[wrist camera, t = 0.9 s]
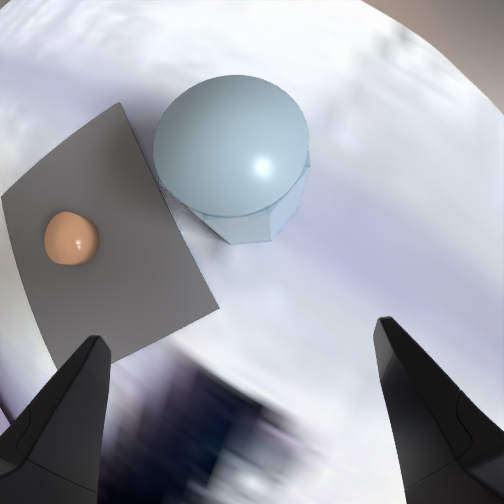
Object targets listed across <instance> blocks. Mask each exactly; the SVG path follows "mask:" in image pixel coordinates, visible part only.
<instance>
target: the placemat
mask: <svg viewBox="0 0 504 504" xmlns="http://www.w3.org/2000/svg"><path fill="white" fill-rule="evenodd" d="M1 199H2V205H3V210H4V215H5V220H6V224H7V229H8V233H9V237H10V241H11V245H12V249H13V253H14V256H15V260H16V263H17V267H18V270H19V274H20V277H21V280H22V283H23V286H24V289H25V292H26V295H27V298H28V301H29V304H30V306H31V309H32V312H33V314H34V317H35V320H36V322H37V325H38V327H39V330H40V332H41V335H42V337H43V339H44V342H45V344H46V346H47V349H48V351H49V353H50V355H51V357H52V360H53V362H54V364H55V366H56V368H57V370H59V368H60V367H61V366H62V365H63V364H64V363H65V362H66V361H67V359H68V358H69V357H70V356H71V355H72V354H73V353H74V352H75V351H76V349H77V348H78V347H79V346H80V345H81V344H82V343H83V342H84V341H85V340H86V339H87V337H89V336H90V335H100V336H101V337H102V338H103V339H104V341H105V342H106V344H107V345H108V346H109V348H110V350H111V364H112V363H114V362H116V361H118V360H120V359H122V358H124V357H126V356H128V355H130V354H132V353H134V352H136V351H138V350H140V349H142V348H144V347H146V346H148V345H150V344H152V343H154V342H156V341H158V340H160V339H162V338H164V337H166V336H167V335H169V334H171V333H173V332H175V331H177V330H179V329H181V328H183V327H185V326H187V325H189V324H191V323H193V322H194V321H196V320H198V319H200V318H202V317H204V316H206V315H208V314H210V313H212V312H213V311H215V310H217V309H219V306H218V304H217V302H216V300H215V298H214V297H213V295H212V293H211V291H210V289H209V287H208V285H207V283H206V282H205V280H204V278H203V276H202V274H201V272H200V270H199V268H198V266H197V264H196V262H195V260H194V259H193V257H192V255H191V253H190V251H189V249H188V247H187V245H186V243H185V241H184V239H183V237H182V235H181V233H180V231H179V229H178V227H177V225H176V223H175V221H174V219H173V217H172V215H171V213H170V211H169V209H168V206H167V204H166V202H165V200H164V198H163V196H162V194H161V192H160V190H159V188H158V186H157V184H156V181H155V179H154V177H153V175H152V173H151V171H150V169H149V166H148V164H147V162H146V160H145V158H144V156H143V153H142V151H141V149H140V147H139V144H138V142H137V140H136V138H135V136H134V133H133V131H132V129H131V126H130V124H129V122H128V120H127V117H126V115H125V113H124V110H123V108H122V106H121V104H120V103H119V102H118V103H117V104H115V105H114V106H112V107H111V108H109V109H108V110H106V111H105V112H103V113H102V114H100V115H99V116H97V117H96V118H95V119H93V120H92V121H90V122H89V123H88V124H86V125H85V126H83V127H82V128H81V129H79V130H78V131H77V132H75V133H74V134H73V135H71V136H70V137H69V138H67V139H66V140H65V141H64V142H62V143H61V144H60V145H58V146H57V147H56V148H55V149H53V150H52V151H51V152H50V153H49V154H47V155H46V156H45V157H44V158H43V159H41V160H40V161H39V162H38V163H37V164H36V165H35V166H33V167H32V168H31V169H30V170H29V171H28V172H27V173H26V174H24V175H23V176H22V177H21V178H20V179H19V180H18V181H17V182H16V183H15V184H14V185H13V186H12V187H10V188H9V189H8V190H7V191H6V192H5V193H4V194H3V195H2V196H1ZM61 212H71V213H74V214H76V215H79V216H82V217H85V218H88V219H90V220H91V221H92V222H93V223H94V224H95V225H96V227H97V229H98V232H99V247H98V250H97V253H96V255H95V256H94V258H93V259H92V260H91V261H90V262H89V263H87V264H85V265H82V266H75V265H65V264H58V263H55V262H54V261H52V260H51V259H50V257H49V256H48V254H47V252H46V249H45V232H46V229H47V226H48V224H49V223H50V221H51V220H52V219H53V217H55V216H56V215H57V214H59V213H61Z"/></svg>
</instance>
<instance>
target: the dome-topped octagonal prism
mask: <svg viewBox="0 0 504 504" xmlns="http://www.w3.org/2000/svg"><path fill="white" fill-rule="evenodd" d="M308 145H309V135H308V128H307V124H306V120H305V118H304V115H303V113H302V111H301V110H300V108H299V106H298V105H297V103H296V102H295V101H294V100H293V99H292V98H291V97H290V96H289V95H288V94H287V93H286V92H285V91H284V90H282V89H281V88H279V87H278V86H276V85H274V84H272V83H270V82H268V81H265V80H263V79H260V78H256V77H251V76H245V75H228V76H221V77H216V78H212V79H209V80H206V81H203V82H201V83H199V84H197V85H195V86H193V87H191V88H189V89H188V90H186V91H185V92H184V93H182V94H181V95H180V96H179V97H178V98H177V99H175V100H174V101H173V103H172V104H171V105H170V106H169V107H168V108H167V110H166V111H165V113H164V114H163V116H162V118H161V120H160V122H159V124H158V126H157V129H156V132H155V136H154V142H153V158H154V163H155V167H156V170H157V173H158V182H159V184H160V185H161V186H163V187H164V188H165V189H166V190H167V191H168V192H170V193H171V194H172V195H173V196H174V197H175V198H177V199H178V200H179V201H180V202H181V203H182V204H184V205H185V206H186V207H187V208H188V209H189V210H191V211H192V212H193V213H194V214H195V215H196V216H198V217H199V218H200V219H201V220H202V221H204V222H205V223H206V224H207V225H208V226H209V227H211V228H212V229H213V230H214V231H215V232H216V233H218V234H219V235H220V236H221V237H222V238H224V239H225V240H226V241H227V242H228V243H229V244H231V245H233V244H244V243H255V242H267V241H272V240H273V238H274V237H275V236H276V235H277V234H278V232H279V231H280V230H281V229H282V228H283V227H284V225H285V224H286V223H287V222H288V221H289V219H290V218H291V217H292V216H293V215H294V213H295V212H296V211H297V209H298V206H299V202H300V199H301V196H302V193H303V190H304V187H305V183H306V180H307V177H308V174H309V171H310V167H311V164H310V158H309V151H308Z"/></svg>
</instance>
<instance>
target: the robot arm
mask: <svg viewBox="0 0 504 504" xmlns="http://www.w3.org/2000/svg"><path fill="white" fill-rule="evenodd" d="M373 340H374V346H375V352H376V358H377V365H378V371H379V378H380V383H381V387H382V391H383V395H384V399H385V403H386V407H387V411H388V415H389V419H390V423H391V427H392V432H393V436H394V441H395V445H396V450H397V454H398V459H399V464H400V469H401V474H402V479H403V485H404V489H405V490H404V491H405V497H406V502H407V504H504V431H503V430H502V429H500V428H499V427H498V426H497V425H496V424H495V423H494V422H493V421H492V420H490V419H489V418H488V417H487V416H486V415H485V414H484V413H483V412H482V411H481V410H480V409H479V408H478V407H477V406H476V405H475V404H474V403H473V402H472V401H471V400H470V399H469V398H468V397H467V396H466V395H465V393H464V392H463V391H462V390H460V388H459V387H458V386H457V385H456V384H455V383H454V381H453V380H452V379H451V378H450V377H449V376H448V375H447V374H446V373H445V372H444V371H443V370H442V369H441V367H440V366H439V365H438V364H437V363H436V362H435V361H434V360H433V359H432V358H431V357H430V356H429V355H428V354H427V353H426V352H425V351H424V349H423V348H422V347H421V346H420V345H419V344H418V343H417V342H416V341H415V340H414V339H413V338H412V337H411V336H410V335H409V334H408V333H407V332H406V331H405V330H404V329H403V328H402V327H401V326H400V325H399V324H398V323H397V322H396V321H395V320H394V319H393V318H392V317H390V316H387V317H380V318H379V319H378V320H377V323H376V327H375V330H374V334H373ZM110 368H111V350H110V348H109V346H108V345H107V344H106V342H105V341H104V339H103V338H102V337H101V336H100V335H90V336H89V337H87V339H86V340H85V341H84V342H83V343H82V344H81V345H80V346H79V347H78V348H77V349H76V351H75V352H74V353H73V354H72V355H71V356H70V357H69V358H68V359H67V361H66V362H65V363H64V364H63V365H62V366H61V367H60V368H59V370H58V371H57V372H56V373H55V374H54V375H53V376H52V378H51V379H50V380H49V381H48V382H47V383H46V385H45V386H44V387H43V388H42V389H41V390H40V392H39V393H38V394H37V395H36V396H35V397H34V399H33V400H32V401H31V402H30V404H28V406H27V407H26V408H25V409H24V410H23V412H22V413H21V414H20V415H19V416H18V417H17V419H16V420H15V421H14V422H13V423H12V424H11V425H10V426H9V427H8V428H7V429H6V430H5V431H4V432H3V433H2V434H1V435H0V504H97V487H98V474H99V463H100V453H101V445H102V436H103V429H104V421H105V414H106V408H107V401H108V394H109V382H110Z"/></svg>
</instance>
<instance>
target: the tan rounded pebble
mask: <svg viewBox="0 0 504 504" xmlns="http://www.w3.org/2000/svg"><path fill="white" fill-rule="evenodd" d="M98 247H99V232H98V229H97V227H96V225H95V224H94V223H93V222H92V221H91V220H90V219H88V218H85V217H82V216H79V215H76V214H74V213H71V212H61V213H59V214H57V215H56V216H55V217H53V219H52V220H51V221H50V223H49V224H48V226H47V229H46V232H45V249H46V252H47V254H48V256H49V257H50V259H51V260H52V261H54V262H55V263H58V264H65V265H75V266H82V265H85V264H87V263H89V262H90V261H91V260H92V259H93V258H94V256H95V255H96V253H97V250H98Z"/></svg>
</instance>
